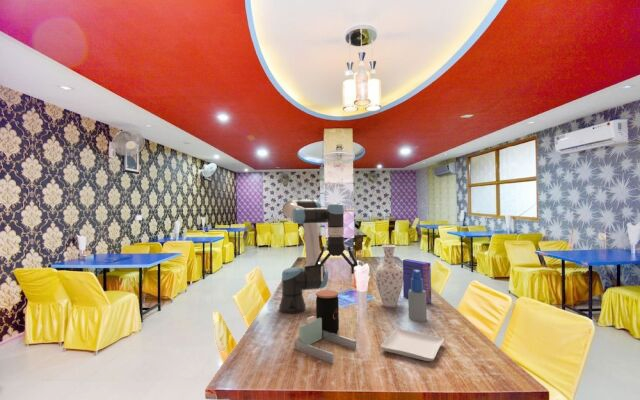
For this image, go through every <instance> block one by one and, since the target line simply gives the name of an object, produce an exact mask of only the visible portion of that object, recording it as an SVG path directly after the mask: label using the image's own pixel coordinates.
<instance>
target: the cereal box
mask: <svg viewBox="0 0 640 400" xmlns="http://www.w3.org/2000/svg"><path fill="white" fill-rule="evenodd" d="M431 267H432V265H431V262H427V261H421V260H414V259H403V260H402V271H403V286H402V291H403V293H402V294H403V298H404V297H405V299H408V292H409V289H411V278H412V275H413V270H420V274H421V278H422V279H423V290H425V291H426V305H428V304H431V303H432V273H431V272H432V271H431V269H432V268H431Z"/></svg>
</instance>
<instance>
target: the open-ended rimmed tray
mask: <svg viewBox="0 0 640 400" xmlns="http://www.w3.org/2000/svg"><path fill="white" fill-rule="evenodd" d="M321 340H326V341H328V342H331V343H334V344H336V343H337V345H340V346H343V347H345V348H347V349H348V348H349V349H351V350H354V351H356V350H357V340H356V339H354V338H349V337H346V336H344V335H340V334H337V333H336V334H334V333H331V332H328V331H325V330H322V339H321ZM294 350H297V351H299V352H302V353H304V354H306V355H309V356H311V357H314V358H316V359H319V360H321V361H324V362H327V363H329V364H332V365H333V364H334V363H335V357H334V355H335V354H334V352H331V351H328V350H325V349H323V348H320V347H316V346H314V345H312V344H310V345H309V344H307V343H304V342H301V341H300V339H299V340H298V339H295V340H294Z"/></svg>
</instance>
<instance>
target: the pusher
mask: <svg viewBox="0 0 640 400" xmlns="http://www.w3.org/2000/svg"><path fill="white" fill-rule="evenodd" d="M298 329H299V331H298V332H299V333H298V334H299V340H300V341H301V342H304V343H307V344H309V345H312V344H314V343H316V342H317V341H320V340H323V339H322V318H318V319H316V315H312V316H309V317H306V323H304V324H301V325H299V327H298Z"/></svg>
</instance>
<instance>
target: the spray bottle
mask: <svg viewBox="0 0 640 400" xmlns="http://www.w3.org/2000/svg"><path fill="white" fill-rule="evenodd" d="M407 299H408V300H407V301H408V320H410V321H412V322H418V323H420V322H421V323H423V322H427V320H428V319H427V314H428V312H427V304H426V291H425V290H423V279H422V278H421V274H420V270H413V275H412V278H411V289H409V292H408V298H407Z"/></svg>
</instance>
